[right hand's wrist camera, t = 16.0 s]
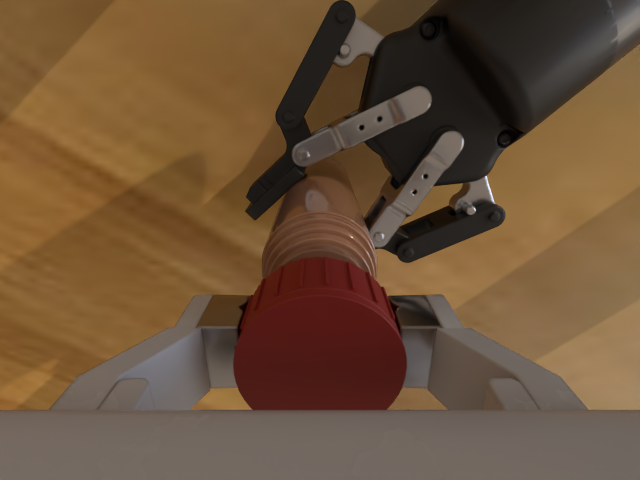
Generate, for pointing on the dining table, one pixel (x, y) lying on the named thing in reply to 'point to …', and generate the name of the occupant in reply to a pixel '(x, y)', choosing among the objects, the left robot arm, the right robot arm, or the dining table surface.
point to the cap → (319, 341)
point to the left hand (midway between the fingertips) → (284, 242)
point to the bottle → (320, 222)
